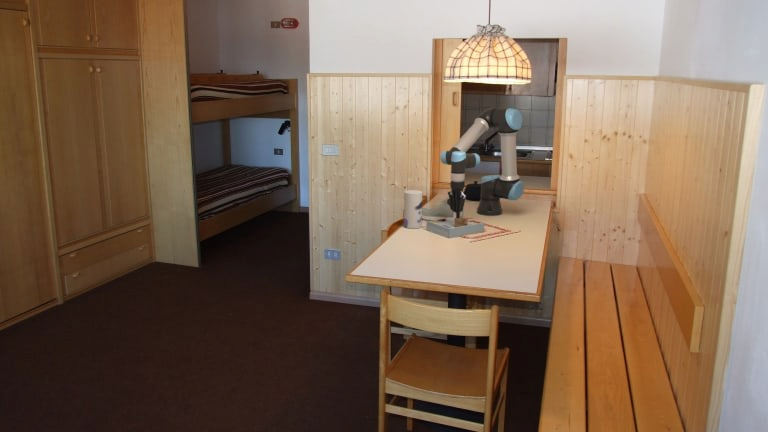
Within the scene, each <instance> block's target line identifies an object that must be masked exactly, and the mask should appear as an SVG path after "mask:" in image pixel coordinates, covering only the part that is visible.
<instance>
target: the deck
mask: <svg viewBox="0 0 768 432" xmlns="http://www.w3.org/2000/svg"><path fill="white" fill-rule="evenodd" d="M426 231H428V232H431V233H433V234H436V235H439V236H442V237H445V238H448V239H453V238H457V237H459V238H460V237H463V236H464V235H465V236H469V234H470V235H475V234H474V233H476V234H480V233H484V232H485V222H479V223H474V222H470V221H468V225H467V226H461V227H454V224H453V220H452V221H441V222H440V221H439V222H434V221H430V220H426ZM465 236H464V237H465Z"/></svg>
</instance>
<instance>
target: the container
mask: <svg viewBox="0 0 768 432" xmlns="http://www.w3.org/2000/svg"><path fill="white" fill-rule="evenodd" d="M403 195H404V197H403V201H404V203H403V227H404V228H406V229H420V228H422V227H423V224H422V223H423V219H422V208H423V191H421V190H418V189H407V190H404V194H403Z"/></svg>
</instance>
